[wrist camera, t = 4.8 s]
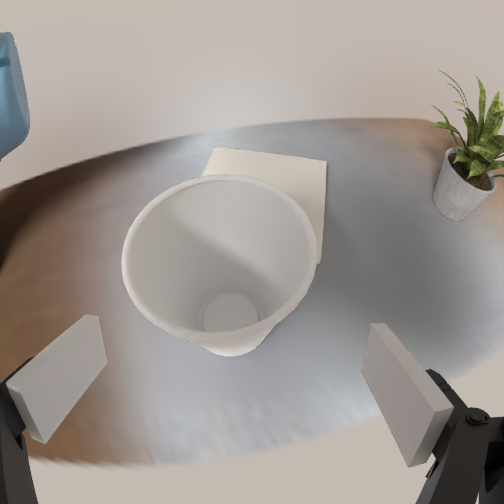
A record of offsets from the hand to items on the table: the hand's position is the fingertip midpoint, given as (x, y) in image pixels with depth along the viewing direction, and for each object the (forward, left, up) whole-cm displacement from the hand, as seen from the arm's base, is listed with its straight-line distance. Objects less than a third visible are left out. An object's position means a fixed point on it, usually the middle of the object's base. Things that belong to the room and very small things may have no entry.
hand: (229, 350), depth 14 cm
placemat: (-2, +18, -9) cm, 20 cm away
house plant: (+20, +24, -10) cm, 33 cm away
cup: (-2, +5, -10) cm, 11 cm away
